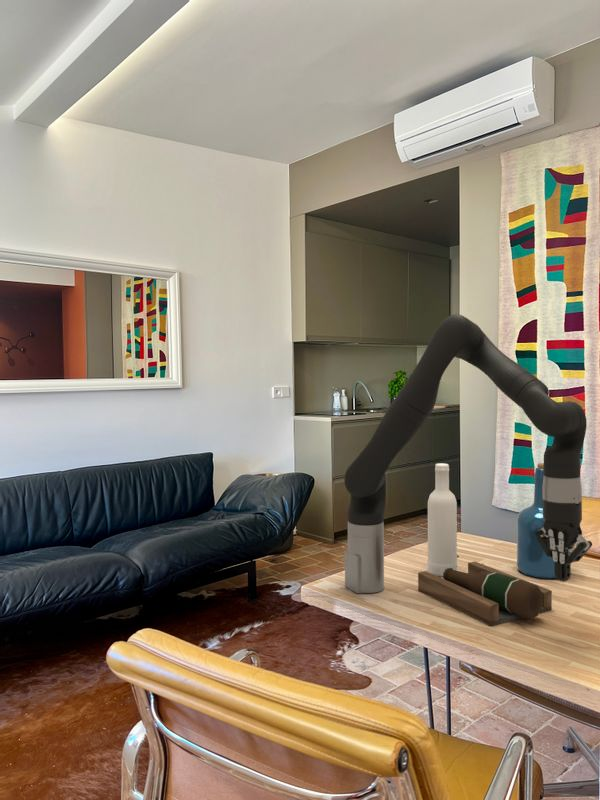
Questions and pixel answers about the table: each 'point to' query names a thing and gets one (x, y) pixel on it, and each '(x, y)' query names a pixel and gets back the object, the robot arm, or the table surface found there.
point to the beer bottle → (501, 591)
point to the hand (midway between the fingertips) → (562, 579)
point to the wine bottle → (533, 535)
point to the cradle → (472, 596)
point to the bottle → (442, 524)
